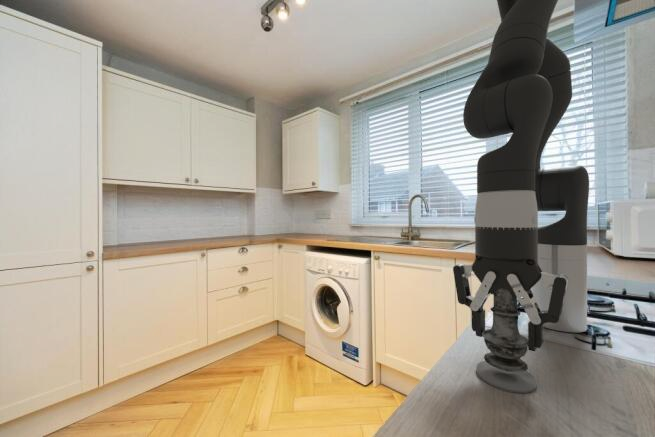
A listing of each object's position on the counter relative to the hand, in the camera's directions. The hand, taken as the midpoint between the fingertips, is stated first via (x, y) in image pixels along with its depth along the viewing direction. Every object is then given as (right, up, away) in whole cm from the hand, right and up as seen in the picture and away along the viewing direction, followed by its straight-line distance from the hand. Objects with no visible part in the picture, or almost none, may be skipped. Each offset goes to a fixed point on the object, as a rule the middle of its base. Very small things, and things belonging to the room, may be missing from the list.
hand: (505, 341), depth 40 cm
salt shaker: (0, -3, 0) cm, 3 cm away
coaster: (0, -5, 0) cm, 5 cm away
